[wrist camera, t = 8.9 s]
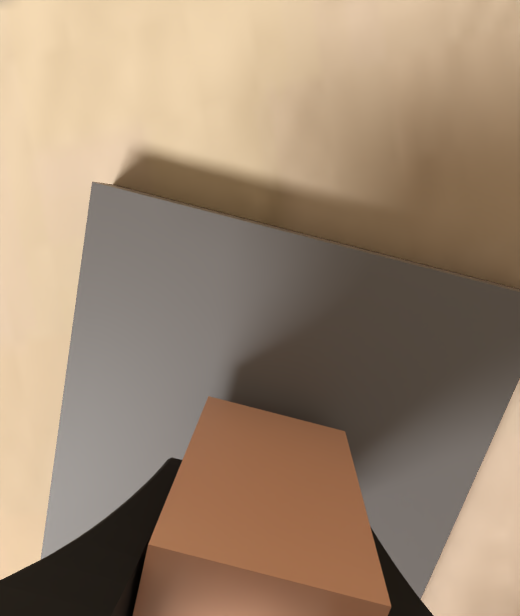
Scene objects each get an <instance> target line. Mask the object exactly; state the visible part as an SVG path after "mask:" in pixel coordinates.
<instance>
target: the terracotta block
mask: <svg viewBox="0 0 520 616" xmlns="http://www.w3.org/2000/svg"><path fill="white" fill-rule="evenodd" d="M390 609H391V603H390V599H389V595H388V592H387V588H386V584H385V580H384V577H383V573H382V569H381V565H380V561H379V558H378V554H377V550H376V546H375V542H374V539H373V535H372V531H371V527H370V524H369V520H368V516H367V512H366V508H365V505H364V501H363V497H362V493H361V490H360V486H359V482H358V478H357V474H356V471H355V467H354V463H353V459H352V456H351V452H350V448H349V444H348V440H347V437H346V433H345V431H342V430H338V429H334V428H330V427H326V426H323V425H319V424H315V423H311V422H307V421H303V420H299V419H295V418H291V417H288V416H284V415H280V414H276V413H272V412H268V411H264V410H260V409H256V408H253V407H249V406H245V405H241V404H237V403H233V402H229V401H225V400H221V399H218V398H214V397H210V396H208V399H207V401H206V404H205V406H204V408H203V411H202V413H201V416H200V418H199V421H198V423H197V426H196V428H195V431H194V433H193V435H192V438H191V440H190V443H189V445H188V448H187V450H186V453H185V455H184V458H183V460H182V463H181V465H180V467H179V470H178V472H177V475H176V477H175V480H174V482H173V485H172V487H171V490H170V492H169V494H168V497H167V499H166V502H165V504H164V507H163V509H162V512H161V514H160V517H159V519H158V522H157V524H156V526H155V529H154V531H153V534H152V536H151V539H150V541H149V544H148V548H147V552H146V557H145V561H144V566H143V570H142V575H141V580H140V584H139V589H138V593H137V598H136V603H135V607H134V612H133V616H388V614H389V611H390Z"/></svg>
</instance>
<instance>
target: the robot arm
mask: <svg viewBox="0 0 520 616" xmlns="http://www.w3.org/2000/svg"><path fill="white" fill-rule="evenodd" d="M181 463H182V460H180V459H176V458H172V457H171V458H170V459H168V460H167V461H166V462H165V463H164V464H163V466H162V467H161V468H160V469H159V470H158V471H157V472H156V473H155V474H154V475H153V476H152V477H151V478H150V479H149V480H148V481H147V482H146V483H145V484H144V485H143V486H142V487H141V488H140V489H139V490H138V491H137V492H136V493H135V494H134V495H132V496H131V497H130V498H129V499H128V500H127V501H126V502H124V503H123V504H122V505H121V506H120V507H118V508H117V509H116V510H115V511H113V512H112V513H111V514H110V515H109V516H107V517H106V518H105V519H103V520H102V521H101V522H99V523H98V524H97V525H95V526H94V527H92V528H91V529H90V530H88V531H87V532H85V533H84V534H82V535H81V536H79V537H78V538H76V539H75V540H73V541H72V542H70V543H68V544H67V545H65V546H63V547H62V548H60V549H59V550H57V551H55V552H54V553H52V554H50V555H48V556H47V557H45V558H43V559H41V560H40V561H38V562H36V563H34V564H32V565H30V566H28V567H26V568H24V569H22V570H20V571H18V572H16V573H14V574H12V575H10V576H8V577H6V578H4V579H2V580H0V616H133V612H134V607H135V603H136V598H137V593H138V589H139V584H140V580H141V575H142V570H143V566H144V561H145V557H146V552H147V548H148V544H149V541H150V539H151V536H152V534H153V531H154V529H155V526H156V524H157V522H158V519H159V517H160V514H161V512H162V509H163V507H164V504H165V502H166V499H167V497H168V494H169V492H170V490H171V487H172V485H173V482H174V480H175V477H176V475H177V472H178V470H179V467H180V465H181ZM371 531H372V535H373V539H374V542H375V546H376V550H377V554H378V558H379V561H380V565H381V569H382V573H383V577H384V580H385V584H386V588H387V592H388V595H389V599H390V603H391V609H390V611H389V614H388V616H433V615H432V613H431V612H430V611H429V610H428V608H427V607H426V606H425V605H424V603H423V602H422V601H421V600H420V598H419V597H418V596H417V594H416V593H415V592H414V590H413V589H412V587H411V586H410V585H409V583H408V582H407V581H406V579H405V578H404V577H403V575H402V574H401V572H400V571H399V569H398V568H397V567H396V565H395V564H394V562H393V561H392V559H391V558H390V556H389V555H388V553H387V552H386V550H385V549H384V547H383V545H382V544H381V542H380V541H379V539H378V538H377V536H376V534H375V533H374V531H373V530H372V528H371Z"/></svg>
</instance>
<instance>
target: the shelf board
mask: <svg viewBox="0 0 520 616" xmlns="http://www.w3.org/2000/svg"><path fill="white" fill-rule="evenodd" d="M519 379H520V289H516V288H513V287H509V286H505V285H501V284H497V283H493V282H489V281H485V280H482V279H478V278H474V277H470V276H466V275H462V274H458V273H454V272H450V271H447V270H443V269H439V268H435V267H431V266H427V265H423V264H419V263H415V262H412V261H408V260H404V259H400V258H396V257H392V256H388V255H384V254H381V253H377V252H373V251H369V250H365V249H361V248H357V247H353V246H349V245H346V244H342V243H338V242H334V241H330V240H326V239H322V238H318V237H314V236H311V235H307V234H303V233H299V232H295V231H291V230H287V229H283V228H280V227H276V226H272V225H268V224H264V223H260V222H256V221H252V220H248V219H245V218H241V217H237V216H233V215H229V214H225V213H221V212H217V211H213V210H210V209H206V208H202V207H198V206H194V205H190V204H186V203H182V202H179V201H175V200H171V199H167V198H163V197H159V196H155V195H151V194H147V193H144V192H140V191H136V190H132V189H128V188H124V187H120V186H116V185H112V184H105V183H97V182H92V187H91V195H90V202H89V209H88V217H87V224H86V232H85V239H84V246H83V254H82V261H81V268H80V276H79V283H78V290H77V298H76V305H75V312H74V320H73V327H72V334H71V342H70V349H69V356H68V364H67V371H66V378H65V386H64V393H63V400H62V408H61V415H60V422H59V430H58V437H57V444H56V452H55V459H54V466H53V474H52V481H51V488H50V496H49V503H48V510H47V518H46V525H45V532H44V540H43V547H42V554H41V559H43V558H45V557H47V556H48V555H50V554H52V553H54V552H55V551H57V550H59V549H60V548H62V547H63V546H65V545H67V544H68V543H70V542H72V541H73V540H75V539H76V538H78V537H79V536H81V535H82V534H84V533H85V532H87V531H88V530H90V529H91V528H92V527H94V526H95V525H97V524H98V523H99V522H101V521H102V520H103V519H105V518H106V517H107V516H109V515H110V514H111V513H112V512H113V511H115V510H116V509H117V508H118V507H120V506H121V505H122V504H123V503H124V502H126V501H127V500H128V499H129V498H130V497H131V496H132V495H134V494H135V493H136V492H137V491H138V490H139V489H140V488H141V487H142V486H143V485H144V484H145V483H146V482H147V481H148V480H149V479H150V478H151V477H152V476H153V475H154V474H155V473H156V472H157V471H158V470H159V469H160V468H161V467H162V466H163V464H164V463H165V462H166V461H167V460H168V459H170V458H171V457H172V458H176V459H180V460H183V458H184V455H185V453H186V450H187V448H188V445H189V443H190V440H191V438H192V435H193V433H194V431H195V428H196V426H197V423H198V421H199V418H200V416H201V413H202V411H203V408H204V406H205V404H206V401H207V399H208V396H210V397H214V398H218V399H221V400H225V401H229V402H233V403H237V404H241V405H245V406H249V407H253V408H256V409H260V410H264V411H268V412H272V413H276V414H280V415H284V416H288V417H291V418H295V419H299V420H303V421H307V422H311V423H315V424H319V425H323V426H326V427H330V428H334V429H338V430H342V431H345V433H346V437H347V440H348V444H349V448H350V452H351V456H352V459H353V463H354V467H355V471H356V474H357V478H358V482H359V486H360V490H361V493H362V497H363V501H364V505H365V508H366V512H367V516H368V520H369V524H370V527H371V528H372V530H373V531H374V533H375V534H376V536H377V538H378V539H379V541H380V542H381V544H382V545H383V547H384V549H385V550H386V552H387V553H388V555H389V556H390V558H391V559H392V561H393V562H394V564H395V565H396V567H397V568H398V569H399V571H400V572H401V574H402V575H403V577H404V578H405V579H406V581H407V582H408V583H409V585H410V586H411V587H412V589H413V590H414V592H415V593H416V594H417V596H418V597H419V598H420V599H421V597H422V595H423V593H424V590H425V588H426V586H427V584H428V581H429V579H430V577H431V575H432V573H433V570H434V568H435V566H436V564H437V561H438V559H439V557H440V555H441V552H442V550H443V548H444V546H445V544H446V541H447V539H448V537H449V535H450V532H451V530H452V528H453V526H454V524H455V521H456V519H457V517H458V515H459V512H460V510H461V508H462V506H463V503H464V501H465V499H466V497H467V495H468V492H469V490H470V488H471V486H472V483H473V481H474V479H475V477H476V474H477V472H478V470H479V468H480V466H481V463H482V461H483V459H484V457H485V454H486V452H487V450H488V448H489V445H490V443H491V441H492V439H493V437H494V434H495V432H496V430H497V428H498V425H499V423H500V421H501V419H502V416H503V414H504V412H505V410H506V408H507V405H508V403H509V401H510V399H511V396H512V394H513V392H514V390H515V387H516V385H517V383H518V381H519Z"/></svg>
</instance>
